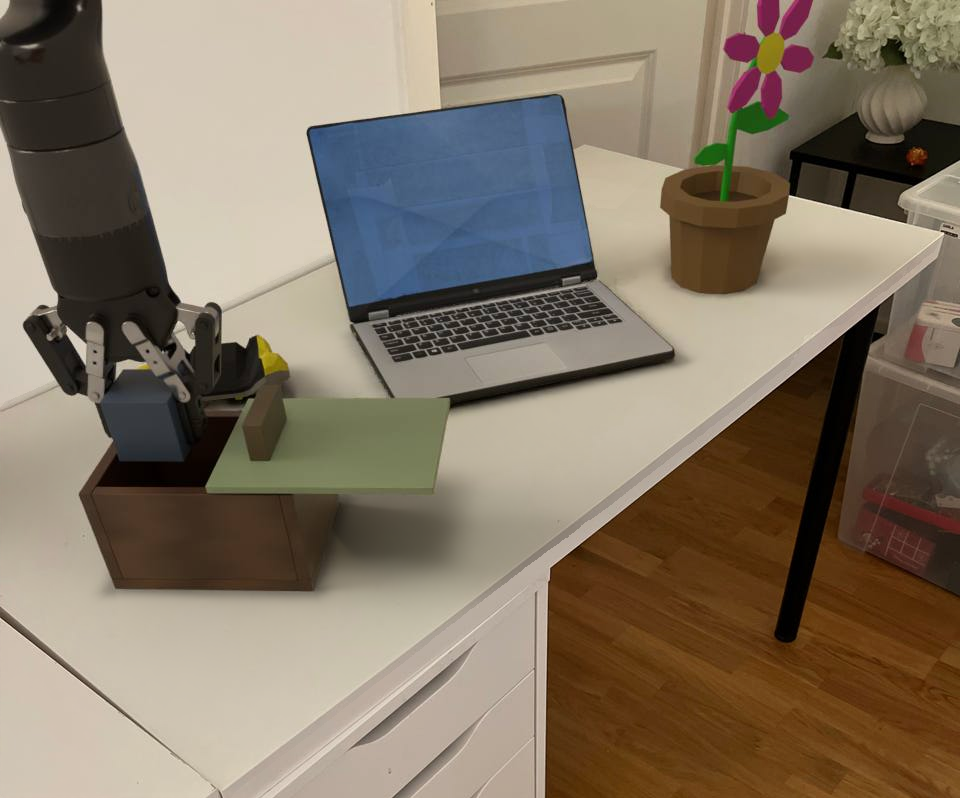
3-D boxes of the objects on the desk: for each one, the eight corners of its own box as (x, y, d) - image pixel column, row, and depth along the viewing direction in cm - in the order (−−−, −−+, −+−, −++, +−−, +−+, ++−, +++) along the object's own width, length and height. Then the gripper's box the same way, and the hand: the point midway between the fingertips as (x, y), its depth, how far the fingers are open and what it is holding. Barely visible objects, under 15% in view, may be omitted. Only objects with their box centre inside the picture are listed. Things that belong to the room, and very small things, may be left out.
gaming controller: (294, 412, 96) (295, 365, 103) (284, 361, 92) (285, 316, 99) (141, 429, 95) (152, 380, 102) (124, 377, 91) (137, 331, 98)
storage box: (114, 588, 77) (77, 494, 70) (161, 501, 85) (132, 410, 79) (312, 591, 75) (292, 495, 69) (339, 502, 84) (324, 409, 78)
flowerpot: (707, 312, 108) (746, -6, 88) (629, 270, 117) (648, -26, 97) (802, 281, 113) (860, -26, 93) (720, 243, 122) (757, -44, 102)
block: (119, 461, 73) (99, 402, 69) (141, 427, 76) (122, 368, 73) (184, 462, 72) (166, 402, 69) (202, 427, 76) (187, 368, 73)
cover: (206, 493, 69) (194, 450, 67) (249, 404, 78) (240, 363, 76) (433, 494, 68) (429, 450, 66) (450, 404, 77) (447, 362, 75)
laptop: (399, 421, 94) (377, 226, 81) (328, 295, 116) (302, 126, 103) (678, 362, 100) (697, 172, 87) (559, 253, 122) (562, 89, 110)
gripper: (213, 187, 65) (263, 414, 76) (7, 192, 66) (88, 415, 77) (179, 229, 59) (239, 467, 71) (-44, 234, 60) (51, 466, 72)
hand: (159, 438), depth 74 cm, fingers closed on block, 5 cm apart
